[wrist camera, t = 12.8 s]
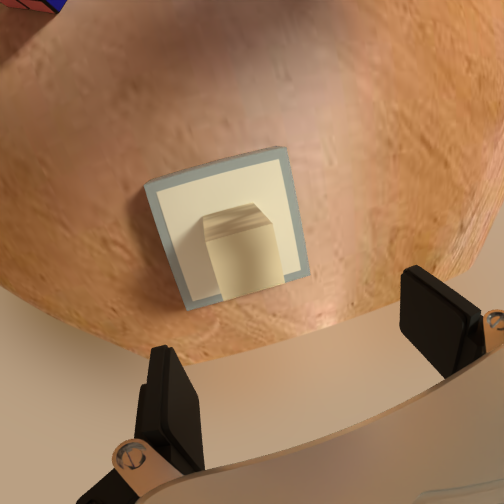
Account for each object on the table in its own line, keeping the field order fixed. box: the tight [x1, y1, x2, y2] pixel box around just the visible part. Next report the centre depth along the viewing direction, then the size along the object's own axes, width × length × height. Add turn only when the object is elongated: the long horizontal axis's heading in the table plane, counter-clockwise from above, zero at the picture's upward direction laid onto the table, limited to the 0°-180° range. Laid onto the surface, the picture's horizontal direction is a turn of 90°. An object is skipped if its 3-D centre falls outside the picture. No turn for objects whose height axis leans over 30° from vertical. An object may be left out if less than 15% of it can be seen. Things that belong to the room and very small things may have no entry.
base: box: [144, 146, 310, 311], centre depth 32 cm, size 14×14×4 cm
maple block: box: [203, 202, 285, 301], centre depth 27 cm, size 5×5×8 cm
